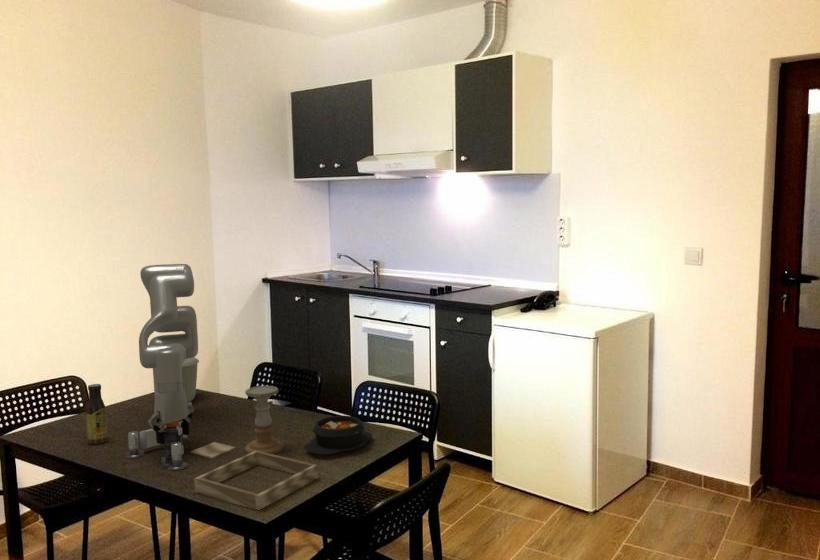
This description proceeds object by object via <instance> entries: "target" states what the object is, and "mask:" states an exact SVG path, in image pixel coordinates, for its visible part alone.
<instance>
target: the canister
mask: <svg viewBox="0 0 820 560" xmlns="http://www.w3.org/2000/svg"><path fill="white" fill-rule="evenodd" d="M199 363H200V360H199V359H198V358H196V356H195V357H193V358H188V359H185V360H184V362H183V364H182V365H181V367H182V380H184V384H183V389H184V391H185V394H186V399H187V403H188V402H192V401H193V400H194V399H195V396H196V392H197V381H198V380H197V378H198V364H199Z"/></svg>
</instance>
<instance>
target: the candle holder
mask: <svg viewBox="0 0 820 560" xmlns="http://www.w3.org/2000/svg"><path fill="white" fill-rule="evenodd" d="M278 393H279V388H278V387H276V386H273V385H258V386H253V387H250V388H249V387H248V388H247V389H245V395H246V396H247V397H250V398H254V400H256V405H255V406H254V410H256V415H255V419H254V424H255V426H256V427H255V428H254V433H255V434H256V439H253V440H252V441H250V442H249V443H248V444H246V445H245V448H244V451H245V454H246V455H247V454H249V453H251V452H254V451H260V452H264V453H269V454H273V455H276V454H278V453H281V452H282V451H283V449H284V443H283V442H282V441H280V440H278V439H277V438H274V437H272V431H273V430H274V428H273V427H272V426H271V424H272V423H273V420H272V417H271V414H270V408H271V405H270V404H269V399H270V398H271V397H272V396H275V395H277V394H278Z"/></svg>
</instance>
